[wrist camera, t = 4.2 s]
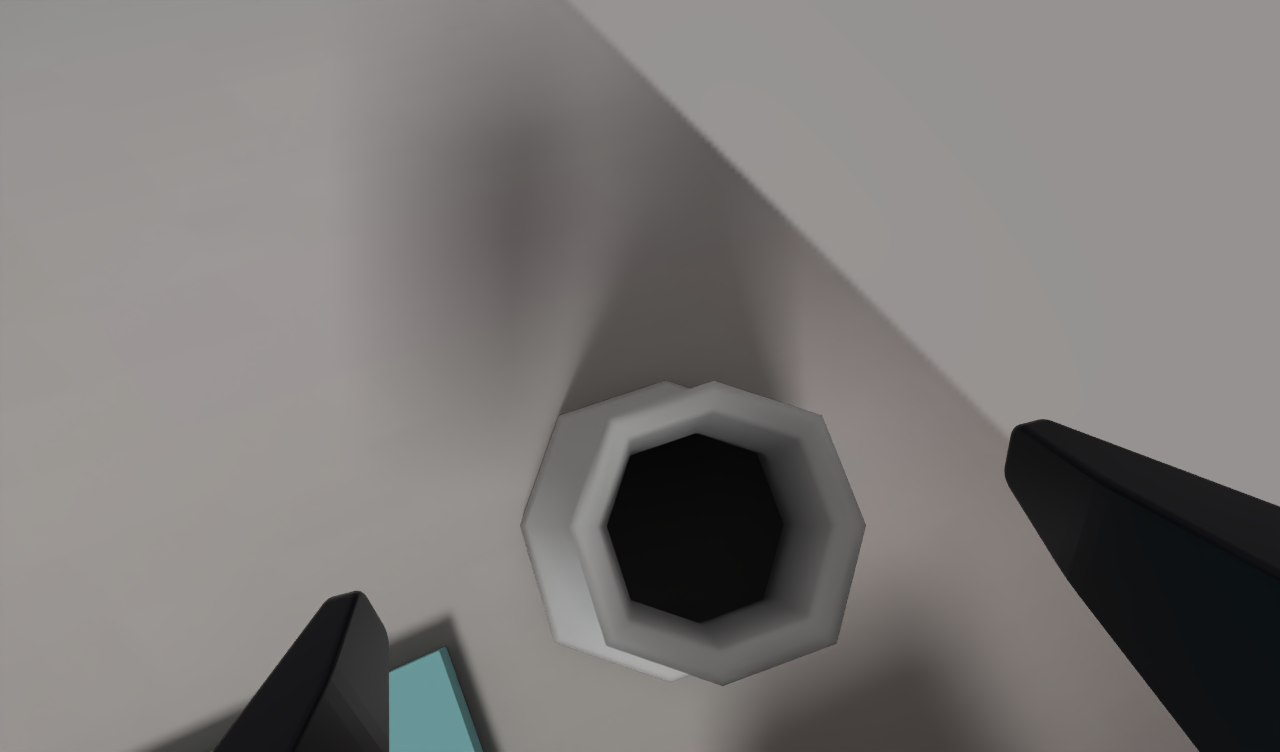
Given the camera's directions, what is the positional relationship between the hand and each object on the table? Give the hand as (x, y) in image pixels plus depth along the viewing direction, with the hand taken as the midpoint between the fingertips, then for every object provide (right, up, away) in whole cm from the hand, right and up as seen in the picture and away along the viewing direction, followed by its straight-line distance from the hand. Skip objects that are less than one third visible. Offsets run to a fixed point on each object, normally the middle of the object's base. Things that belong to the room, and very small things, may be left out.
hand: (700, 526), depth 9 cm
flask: (0, -2, +8) cm, 8 cm away
